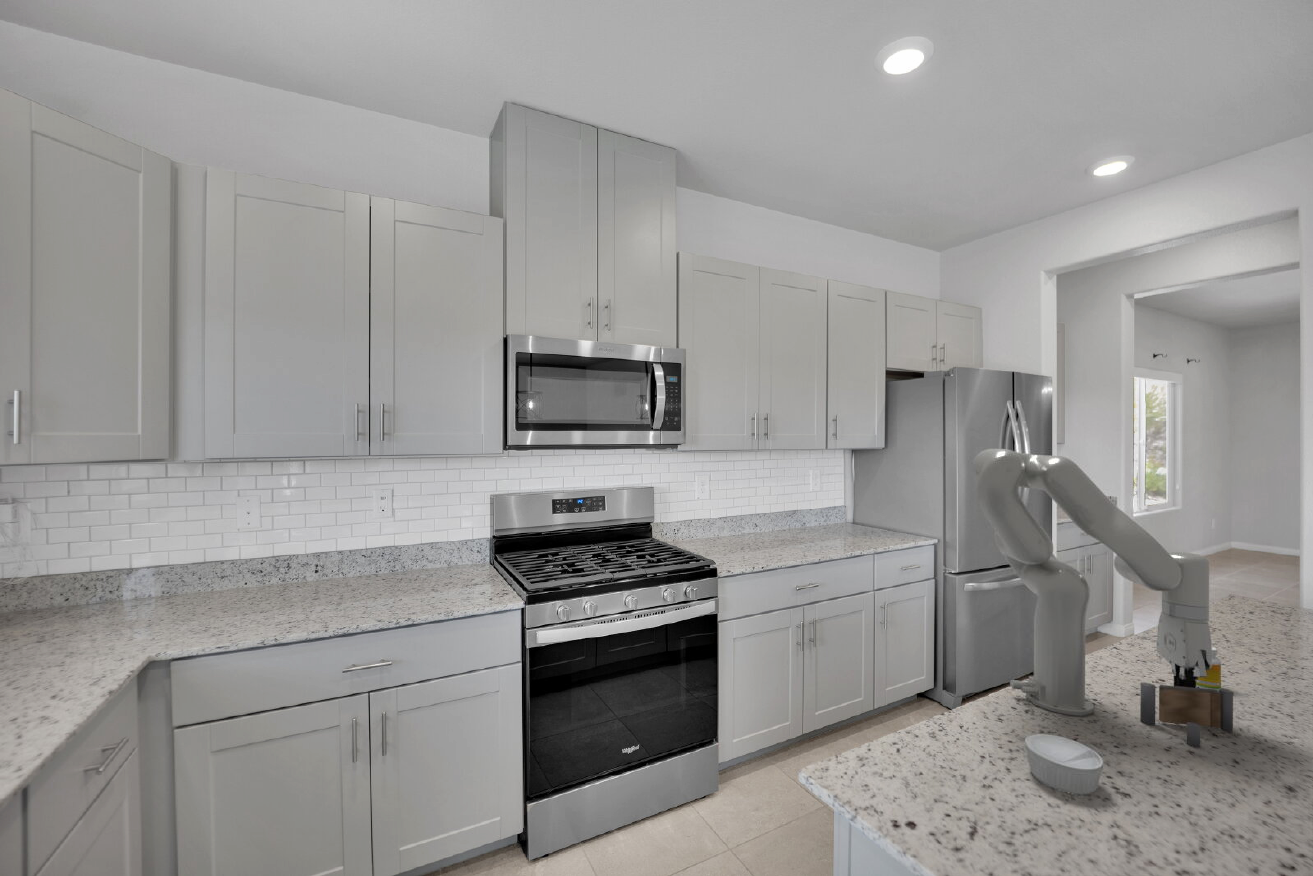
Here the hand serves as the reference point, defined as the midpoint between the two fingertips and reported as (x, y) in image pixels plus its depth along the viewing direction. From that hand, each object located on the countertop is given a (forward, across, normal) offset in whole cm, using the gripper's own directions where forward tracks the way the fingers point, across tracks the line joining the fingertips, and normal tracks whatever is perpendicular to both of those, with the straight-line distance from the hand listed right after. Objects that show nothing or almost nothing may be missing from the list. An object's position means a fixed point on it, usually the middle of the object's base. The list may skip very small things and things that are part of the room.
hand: (1184, 695), depth 123 cm
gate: (+4, +4, -2) cm, 6 cm away
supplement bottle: (+5, -20, +16) cm, 26 cm away
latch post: (+5, +4, +5) cm, 8 cm away
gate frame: (+5, +8, -8) cm, 13 cm away
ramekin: (+5, +31, -38) cm, 49 cm away
